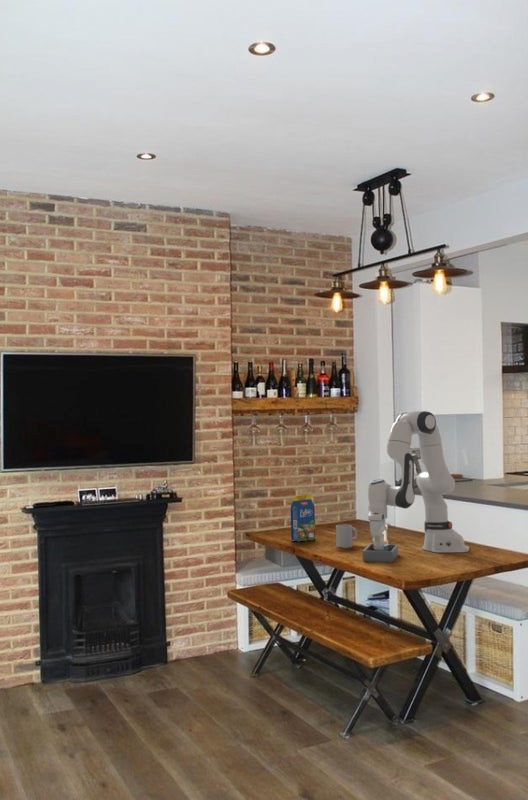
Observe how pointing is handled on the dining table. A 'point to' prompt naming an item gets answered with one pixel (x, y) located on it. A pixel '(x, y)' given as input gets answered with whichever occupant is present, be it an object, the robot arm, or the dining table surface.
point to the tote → (380, 554)
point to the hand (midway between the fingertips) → (378, 543)
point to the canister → (381, 545)
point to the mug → (345, 535)
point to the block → (384, 548)
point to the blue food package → (302, 518)
